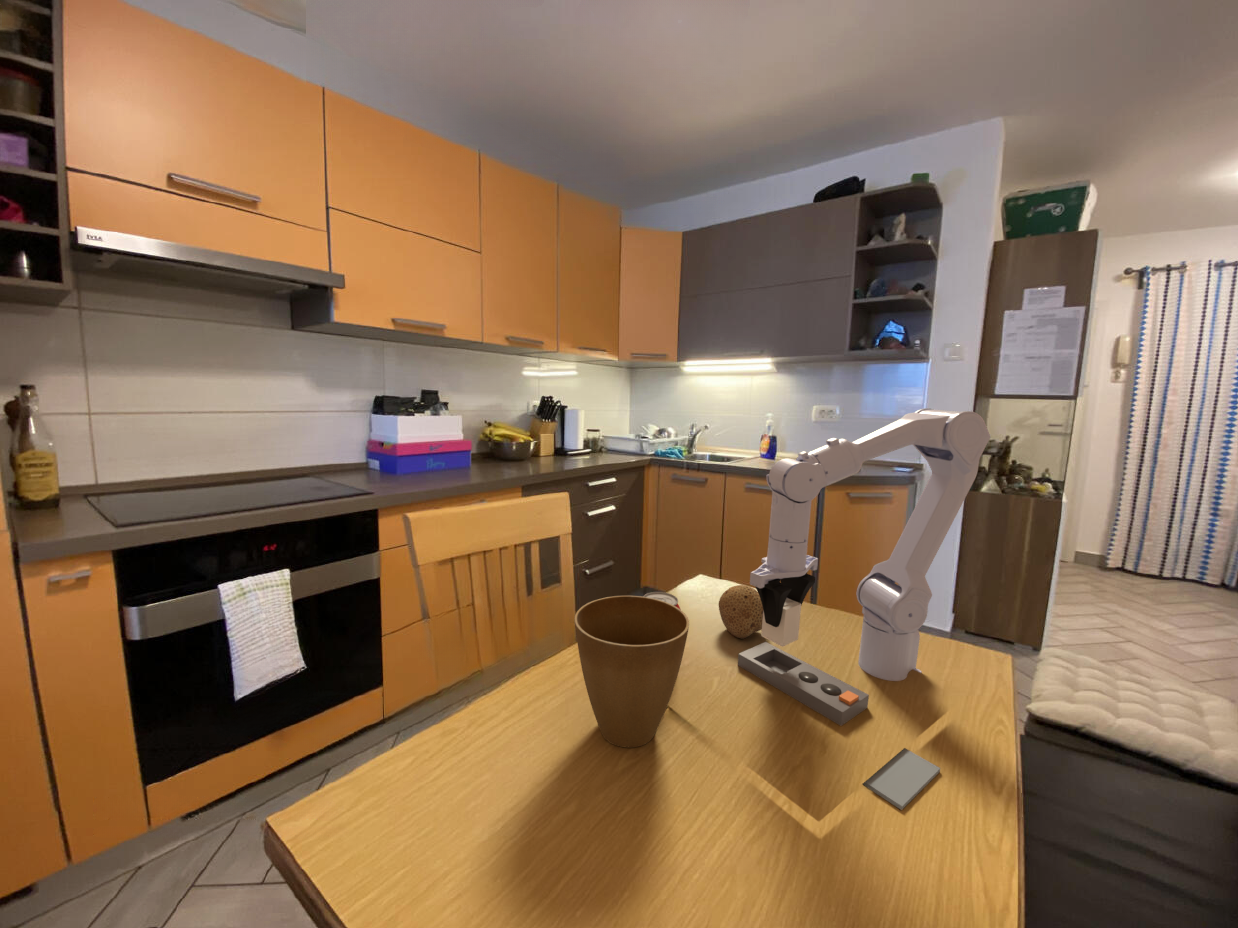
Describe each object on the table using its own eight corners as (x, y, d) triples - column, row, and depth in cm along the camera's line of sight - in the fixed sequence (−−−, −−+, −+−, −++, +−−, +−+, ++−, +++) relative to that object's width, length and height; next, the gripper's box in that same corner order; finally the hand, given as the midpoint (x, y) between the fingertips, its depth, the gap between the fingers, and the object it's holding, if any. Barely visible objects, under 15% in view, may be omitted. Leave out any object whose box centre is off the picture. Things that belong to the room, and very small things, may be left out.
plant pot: (706, 745, 66) (713, 629, 63) (604, 786, 58) (607, 657, 56) (645, 684, 78) (649, 586, 76) (555, 712, 71) (556, 605, 69)
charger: (776, 629, 83) (779, 593, 82) (798, 639, 80) (801, 602, 79) (761, 635, 80) (764, 599, 80) (782, 646, 77) (785, 608, 76)
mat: (860, 726, 70) (861, 723, 70) (939, 771, 62) (940, 767, 62) (819, 756, 64) (820, 752, 64) (901, 810, 56) (902, 806, 56)
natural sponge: (751, 624, 100) (755, 575, 98) (776, 646, 91) (781, 594, 90) (709, 628, 97) (712, 579, 96) (731, 652, 89) (735, 598, 87)
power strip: (764, 657, 87) (765, 639, 87) (866, 713, 73) (869, 691, 72) (737, 670, 83) (738, 650, 82) (840, 732, 69) (842, 708, 68)
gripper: (793, 524, 85) (787, 600, 87) (736, 537, 76) (730, 622, 78) (832, 535, 79) (824, 616, 81) (775, 551, 71) (768, 641, 73)
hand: (781, 620), depth 80 cm, fingers closed on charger, 4 cm apart
